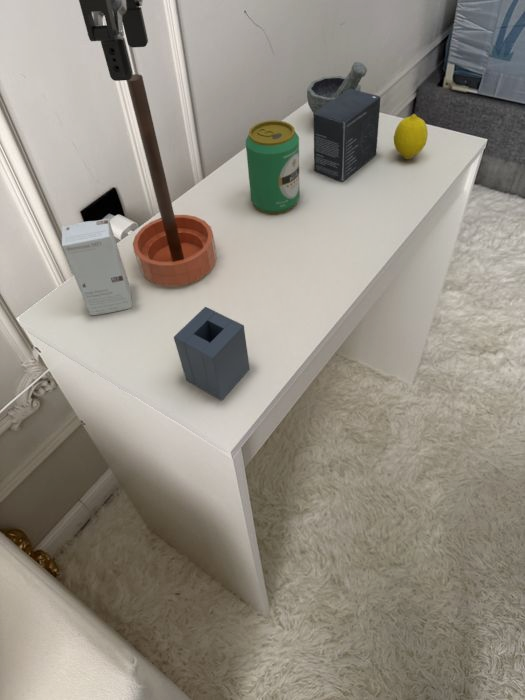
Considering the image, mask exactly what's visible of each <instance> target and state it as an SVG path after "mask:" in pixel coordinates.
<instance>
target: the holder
mask: <svg viewBox="0 0 525 700" xmlns="http://www.w3.org/2000/svg"><path fill="white" fill-rule="evenodd" d="M173 341H174V343H175V347H176V351H177V354H178V357H179V360H180V364H181V368H182V371H183V375H184V378H185V381H187V382H189V383H190V384H192V385H194V386H195V387H197V388H199V389H201V390H202V391H204V392H206V393H208V394H209V395H211V396H212V397H214V398H216V399H218V400H220V401H221V402H222V401H223V400H224V399H225V398H226V397H227V396H228V395H229V393H230V392H231V391H232V390H233V389H234V388H235V387H236V386H237V384H239V382H240V381H241V380H242V378H244V376H245V375H246V374H247V373H248V372H249V371H250V370H251V369H250V368H251V367H250V361H249V360H250V359H249V353H248V346H247V339H246V332H245V325H244V324H242V323H240V322H239V321H236V320H234V319H232V318H230V317H228V316H226V315H223V314H222V313H219V312H217V311H216V310H213V309H212V308H209V307H207V306H204V307H203V308H202V309H201V310H200V311H199V312H198V313H197V314H196V315H195V316H194V317H193V318H191V319H190V321H188V322H187V323H186V324H185V326H183V327H182V328H181V329H180V330H179V331H178V332H177V333H176V334H175V335H174V336H173Z"/></svg>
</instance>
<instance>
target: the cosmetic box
mask: <svg viewBox="0 0 525 700" xmlns="http://www.w3.org/2000/svg"><path fill="white" fill-rule="evenodd" d="M115 237H116V236H115V233H114V231H113V228H112V224H111V220H110V219H109V218H104V219H98V220H88V221H82V222H79V223H73V224H68V225H62V226H61V248H62V251H63V253H64V255H65V257H66V260H67V263H68V265H69V268H70V270H71V272H72V274H73V277H74V279H75V282H76V284H77V286H78V289H79V292H80V294H81V296H82V299H83V301H84V303H85V306H86V308H87V310H88V314H89V315H90V316H98V315H103V314H104V315H105V314H110V313H111V314H112V313H114V312H121V311H125V310H129V309H131V308H133V302H132V300H133V299H132V288H131V285H130V282H129V279H128V276H127V273H126V269H125V266H124V263H123V260H122V257H121V253H120V250H119V246H118V244H117V241H116V240H117V239H116V238H115Z"/></svg>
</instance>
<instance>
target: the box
mask: <svg viewBox="0 0 525 700" xmlns="http://www.w3.org/2000/svg"><path fill="white" fill-rule="evenodd" d="M380 109H381V95H377V94H374V93H369V92H364V91H361V90H360V91H357V90H353V89H348V90H347V91H346V92H344V93H343V94H341V95H340V96H338V97H337V98H335V99H334V100H332V101H331V102H329V103H328V104H326V105H325V106H323V107H322V108H320V109H319V110H317V111H316V112H314V113H313V112H312V115H313V171H315V172H317V173H320V174H322V175H325V176H327V177H330V178H333V179H335V180H338V181H340V182H344V181H346V180H347V179H348V178H349V177H351V175H353V174H354V173H355V172H356V171H359V169H360V168H362V167H363V166H365V164H366V163H368V162H369V161H370V160H371V159H373V158H374V157H375V156H376V155H377V150H378V149H377V148H378V137H379V123H380V111H381V110H380Z"/></svg>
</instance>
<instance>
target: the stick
mask: <svg viewBox="0 0 525 700" xmlns="http://www.w3.org/2000/svg"><path fill="white" fill-rule="evenodd" d="M126 85H127V88H128V92H129V96H130V100H131V104H132V108H133V112H134V115H135V120H136V123H137V127H138V131H139V135H140V139H141V143H142V147H143V151H144V156H145V160H146V163H147V166H148V171H149V175H150V179H151V182H152V187H153V191H154V195H155V199H156V202H157V207H158V211H159V214H160V218H162V222H163V226H164V230H165V234H166V238H167V242H168V246H169V250H170V254H171V258H172V261H173V262H174V261H179V260H183V259H184V255H183V251H182V247H181V242H180V238H179V234H178V229H177V225H176V220H175V216H174V215H175V212H174V208H173V203H172V199H171V194H170V190H169V186H168V182H167V178H166V173H165V169H164V165H163V160H162V156H161V152H160V147H159V142H158V139H157V134H156V133H157V132H156V130H155V129H156V128H155V125H154V121H153V117H152V113H151V107H150V103H149V99H148V95H147V91H146V86H145V81H144V77H143V75H142V74H139V73H133V75H132V77H131V79H130V80H126Z"/></svg>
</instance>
